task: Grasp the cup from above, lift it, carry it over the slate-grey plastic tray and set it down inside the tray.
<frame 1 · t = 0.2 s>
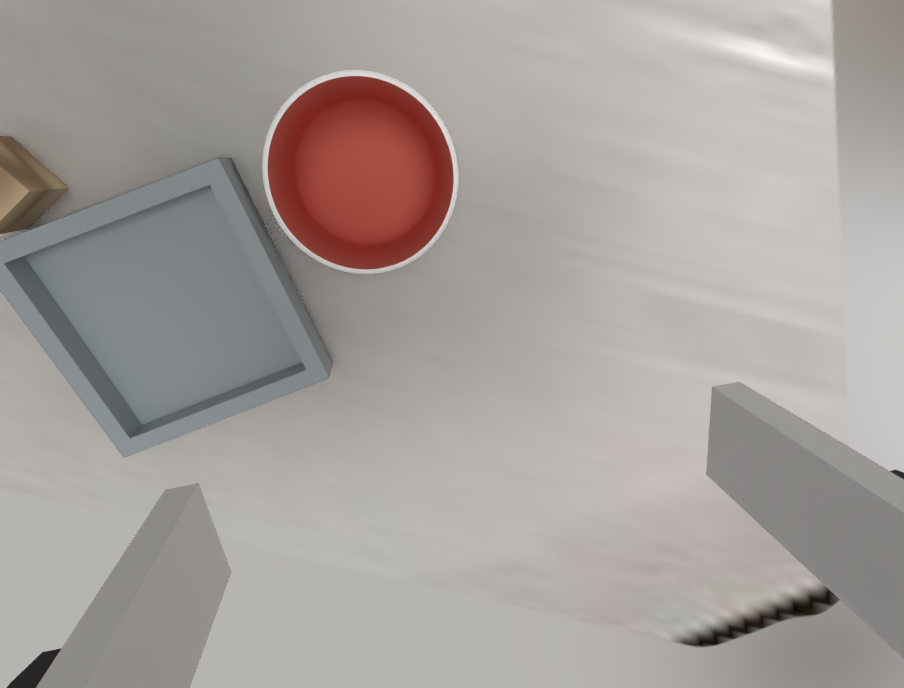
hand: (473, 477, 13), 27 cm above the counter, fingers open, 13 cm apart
oak block: (20, 184, 32), on the counter
cup: (366, 174, 35), on the counter
tray: (183, 308, 36), on the counter
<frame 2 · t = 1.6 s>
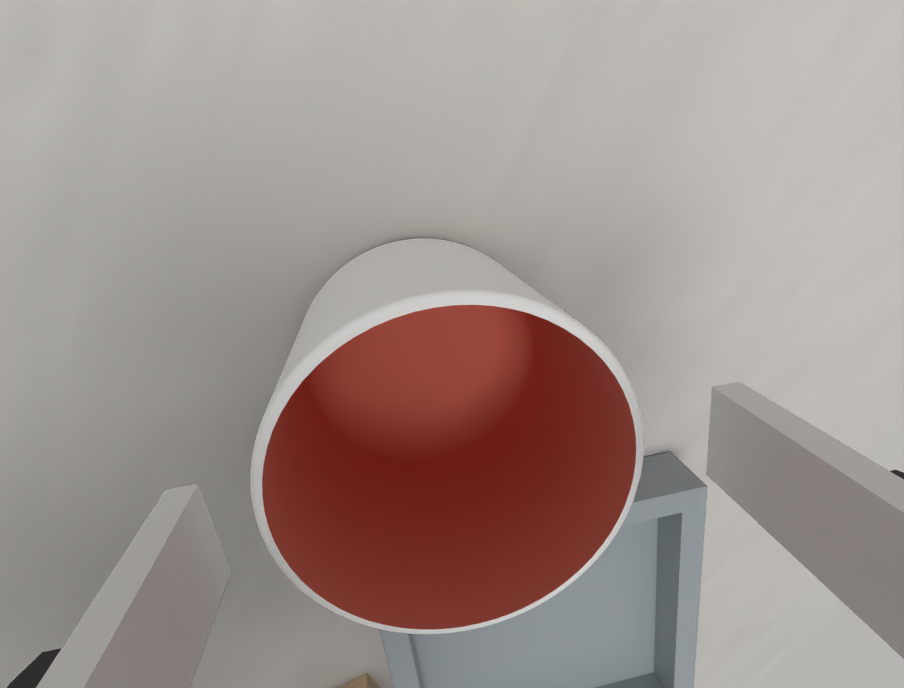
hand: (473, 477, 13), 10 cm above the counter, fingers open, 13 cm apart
cup: (419, 348, 22), on the counter
tray: (533, 600, 28), on the counter
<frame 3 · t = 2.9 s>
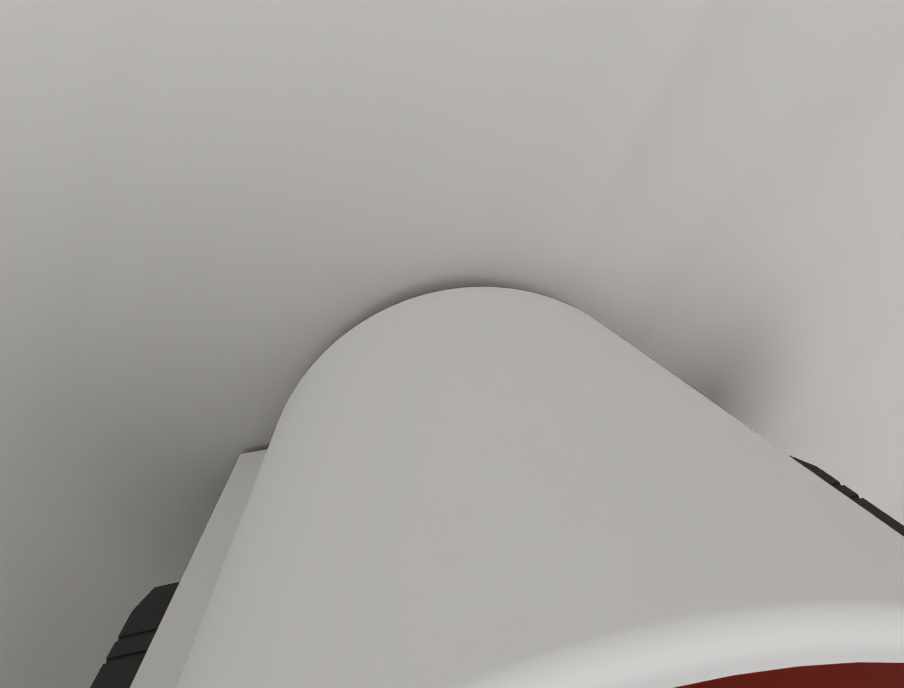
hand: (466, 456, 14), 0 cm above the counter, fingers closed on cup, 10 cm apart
cup: (463, 447, 14), on the counter, touching gripper
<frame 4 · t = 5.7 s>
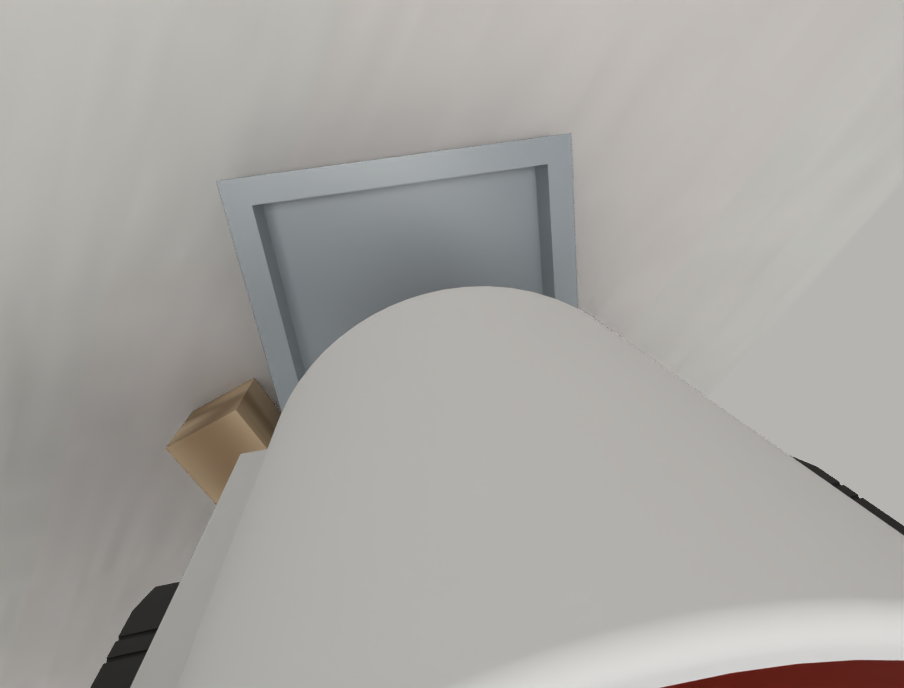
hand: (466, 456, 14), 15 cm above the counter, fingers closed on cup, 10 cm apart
oak block: (245, 420, 29), on the counter
cup: (463, 446, 14), point 15 cm above the counter, touching gripper
tray: (420, 308, 28), on the counter
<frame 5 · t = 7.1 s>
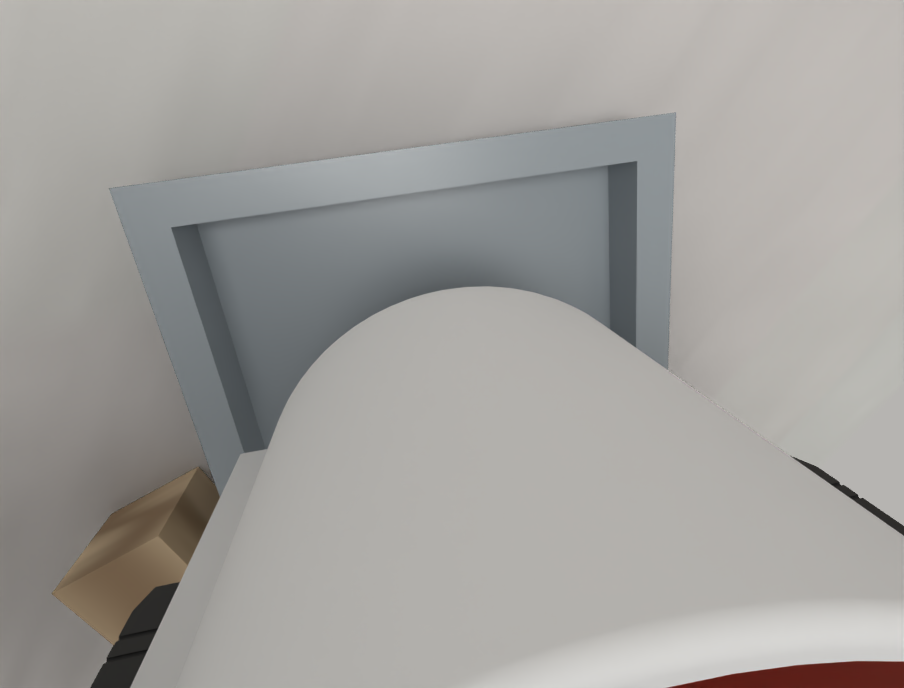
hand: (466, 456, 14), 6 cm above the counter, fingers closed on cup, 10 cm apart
oak block: (188, 523, 20), on the counter
cup: (464, 446, 14), point 6 cm above the counter, touching gripper
tray: (435, 367, 19), on the counter
when the fingers open (3 cm above the counter, at t = 8.4 s): cup drops 1 cm, resting on tray.
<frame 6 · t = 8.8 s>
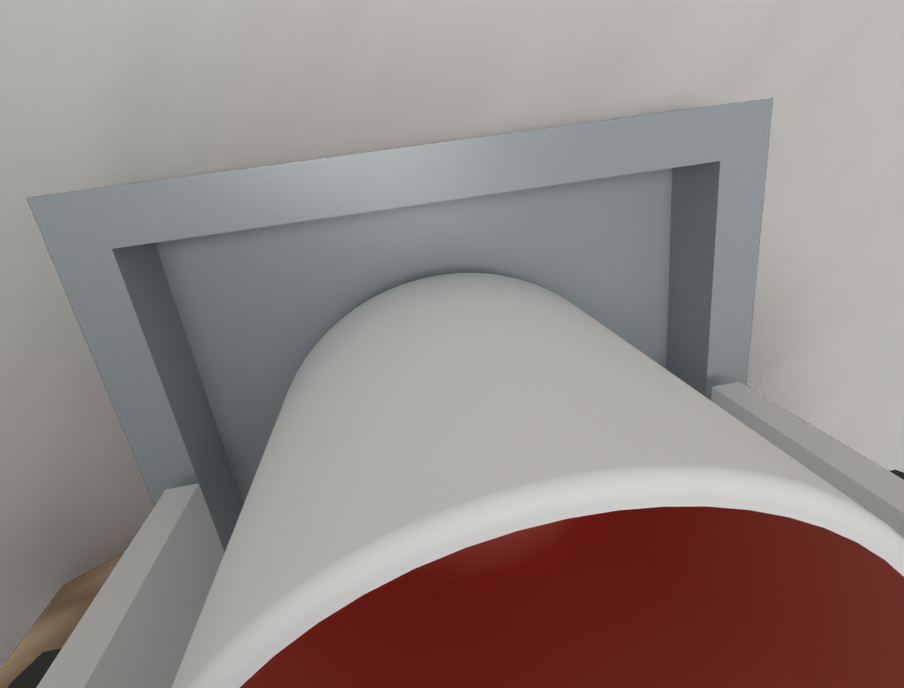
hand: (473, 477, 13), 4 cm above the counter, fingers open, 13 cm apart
oak block: (156, 593, 17), on the counter
cup: (455, 421, 15), point 1 cm above the counter, touching tray
tray: (452, 410, 16), on the counter
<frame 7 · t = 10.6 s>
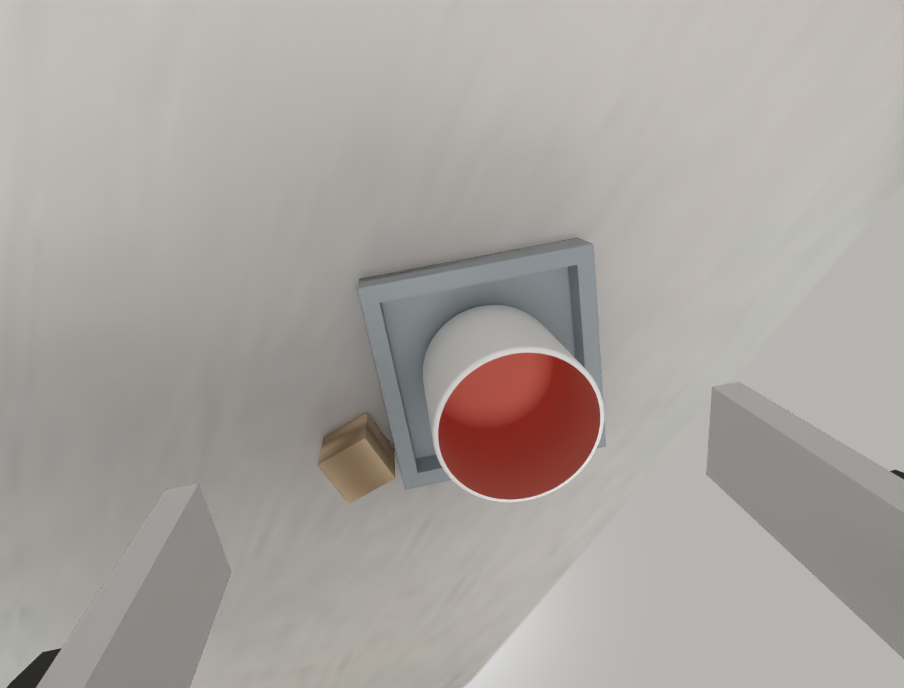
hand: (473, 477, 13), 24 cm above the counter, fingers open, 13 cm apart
oak block: (359, 442, 40), on the counter
cup: (486, 363, 38), point 1 cm above the counter, touching tray
tray: (485, 359, 38), on the counter
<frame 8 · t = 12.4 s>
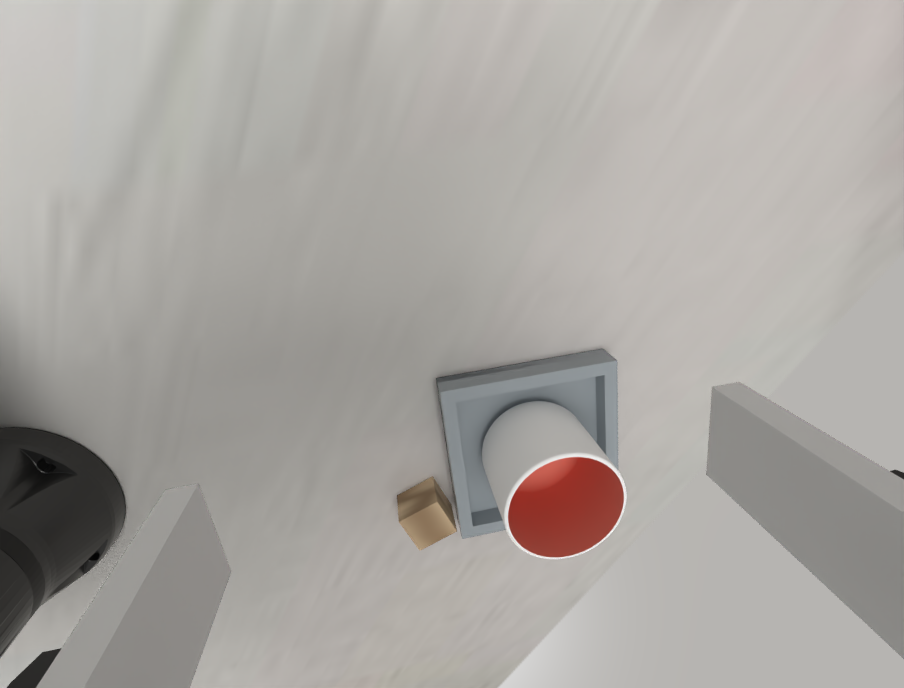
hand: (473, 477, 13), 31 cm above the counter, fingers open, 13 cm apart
oak block: (424, 499, 50), on the counter
cup: (529, 441, 48), point 1 cm above the counter, touching tray
tray: (527, 437, 49), on the counter
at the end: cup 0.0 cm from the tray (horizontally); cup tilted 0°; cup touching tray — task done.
